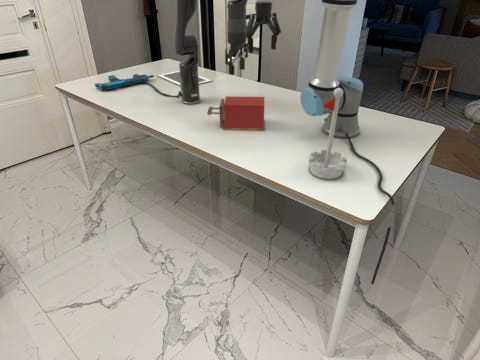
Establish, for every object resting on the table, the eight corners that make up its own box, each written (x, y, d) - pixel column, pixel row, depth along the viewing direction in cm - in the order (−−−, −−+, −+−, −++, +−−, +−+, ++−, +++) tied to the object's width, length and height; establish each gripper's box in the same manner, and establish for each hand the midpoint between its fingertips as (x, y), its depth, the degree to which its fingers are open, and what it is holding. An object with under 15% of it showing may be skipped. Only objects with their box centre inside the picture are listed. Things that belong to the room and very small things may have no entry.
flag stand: (330, 158, 128) (344, 79, 112) (352, 176, 118) (370, 92, 102) (300, 165, 124) (309, 84, 108) (320, 183, 114) (333, 97, 98)
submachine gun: (139, 68, 225) (158, 74, 208) (140, 74, 226) (158, 80, 210) (87, 78, 206) (103, 86, 189) (89, 84, 208) (104, 92, 191)
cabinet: (224, 129, 151) (223, 104, 145) (226, 119, 160) (226, 96, 154) (263, 130, 151) (264, 105, 144) (263, 120, 160) (264, 96, 153)
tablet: (157, 75, 220) (157, 75, 220) (183, 70, 231) (183, 69, 231) (184, 87, 200) (184, 87, 200) (212, 80, 211) (212, 80, 211)
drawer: (207, 126, 152) (206, 106, 146) (210, 118, 160) (209, 98, 154) (256, 127, 151) (256, 106, 145) (256, 118, 159) (256, 99, 153)
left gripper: (237, 26, 139) (237, 66, 148) (218, 32, 129) (220, 74, 138) (253, 28, 136) (252, 69, 145) (235, 34, 126) (235, 77, 135)
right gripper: (280, -1, 161) (277, 46, 173) (235, 2, 150) (236, 52, 161) (290, 0, 156) (287, 49, 167) (245, 4, 144) (245, 55, 156)
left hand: (236, 71), depth 142 cm, fingers open, 8 cm apart
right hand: (262, 51), depth 164 cm, fingers open, 13 cm apart
